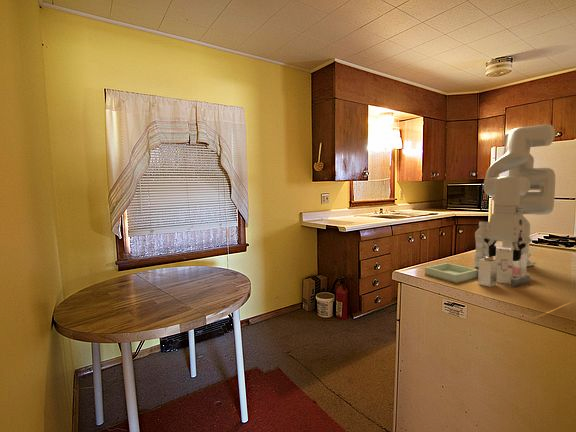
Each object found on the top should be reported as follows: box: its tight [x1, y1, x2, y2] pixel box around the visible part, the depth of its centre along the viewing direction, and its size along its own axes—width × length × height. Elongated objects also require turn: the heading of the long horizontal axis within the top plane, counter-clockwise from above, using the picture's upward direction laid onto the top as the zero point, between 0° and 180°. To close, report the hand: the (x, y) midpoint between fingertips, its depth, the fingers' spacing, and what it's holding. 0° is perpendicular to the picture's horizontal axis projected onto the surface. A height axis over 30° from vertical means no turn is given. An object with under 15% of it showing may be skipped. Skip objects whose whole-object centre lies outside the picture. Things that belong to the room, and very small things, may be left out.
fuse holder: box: [477, 251, 531, 288], centre depth 110 cm, size 24×12×10 cm, turn 117°
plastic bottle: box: [473, 220, 490, 269], centre depth 126 cm, size 6×7×20 cm
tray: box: [424, 262, 479, 284], centre depth 117 cm, size 14×13×3 cm
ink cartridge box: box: [495, 243, 513, 285], centre depth 110 cm, size 9×5×15 cm, turn 147°
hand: (503, 258), depth 110 cm, fingers closed on ink cartridge box, 7 cm apart
